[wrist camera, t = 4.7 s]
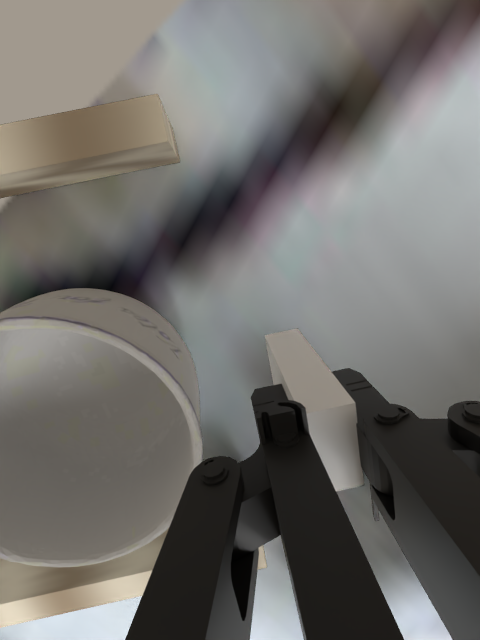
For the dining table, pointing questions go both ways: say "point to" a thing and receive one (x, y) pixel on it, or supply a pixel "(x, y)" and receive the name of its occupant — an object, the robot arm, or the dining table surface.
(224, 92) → the dining table surface
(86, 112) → the wooden bars
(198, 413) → the teacup
